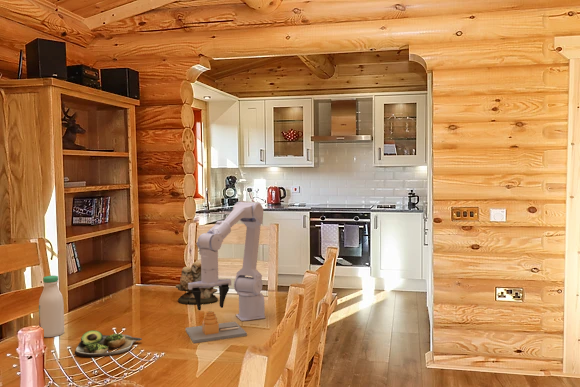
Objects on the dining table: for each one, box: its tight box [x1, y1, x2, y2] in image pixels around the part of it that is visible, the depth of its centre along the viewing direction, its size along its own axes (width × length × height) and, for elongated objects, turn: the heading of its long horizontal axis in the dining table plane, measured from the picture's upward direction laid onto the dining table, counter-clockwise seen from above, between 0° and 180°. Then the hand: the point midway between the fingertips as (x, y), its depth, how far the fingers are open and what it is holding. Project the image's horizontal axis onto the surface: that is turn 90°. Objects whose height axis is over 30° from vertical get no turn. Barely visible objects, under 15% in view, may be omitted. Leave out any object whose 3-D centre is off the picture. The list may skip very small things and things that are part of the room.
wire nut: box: [201, 311, 219, 335], centre depth 166 cm, size 5×5×7 cm
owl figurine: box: [175, 261, 219, 306], centre depth 210 cm, size 18×12×17 cm, turn 94°
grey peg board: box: [185, 321, 248, 344], centre depth 167 cm, size 18×14×4 cm
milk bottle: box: [38, 275, 65, 338], centre depth 167 cm, size 8×8×20 cm
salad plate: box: [74, 329, 143, 358], centre depth 155 cm, size 19×18×5 cm
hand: (210, 308), depth 165 cm, fingers open, 7 cm apart
